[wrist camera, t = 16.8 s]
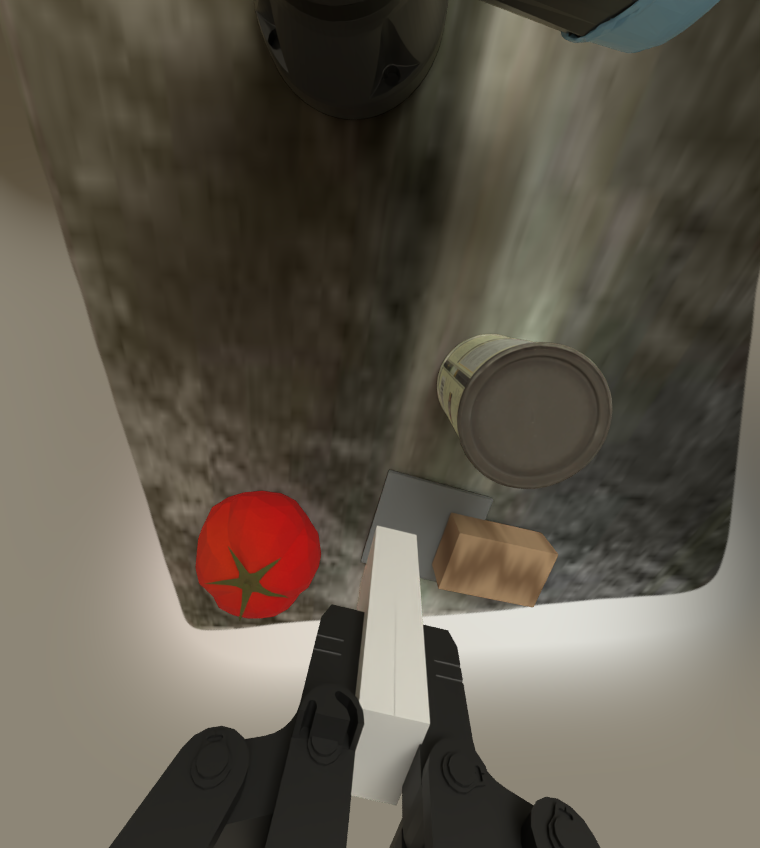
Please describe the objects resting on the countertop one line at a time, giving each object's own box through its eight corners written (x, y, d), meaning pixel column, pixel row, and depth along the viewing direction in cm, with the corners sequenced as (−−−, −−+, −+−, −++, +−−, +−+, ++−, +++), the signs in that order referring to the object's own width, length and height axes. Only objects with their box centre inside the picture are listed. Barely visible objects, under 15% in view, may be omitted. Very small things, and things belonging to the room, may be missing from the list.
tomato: (324, 578, 47) (304, 652, 36) (224, 567, 47) (176, 638, 37) (330, 478, 43) (311, 529, 33) (222, 467, 43) (168, 514, 33)
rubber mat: (389, 469, 42) (388, 471, 42) (491, 497, 43) (493, 500, 42) (361, 558, 46) (360, 561, 45) (456, 584, 46) (457, 587, 46)
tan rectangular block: (459, 533, 39) (558, 554, 40) (451, 512, 42) (541, 532, 44) (438, 588, 41) (533, 607, 42) (432, 564, 44) (518, 582, 46)
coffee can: (554, 400, 40) (637, 445, 26) (465, 448, 41) (499, 513, 28) (509, 312, 37) (575, 310, 24) (418, 366, 39) (430, 394, 26)
